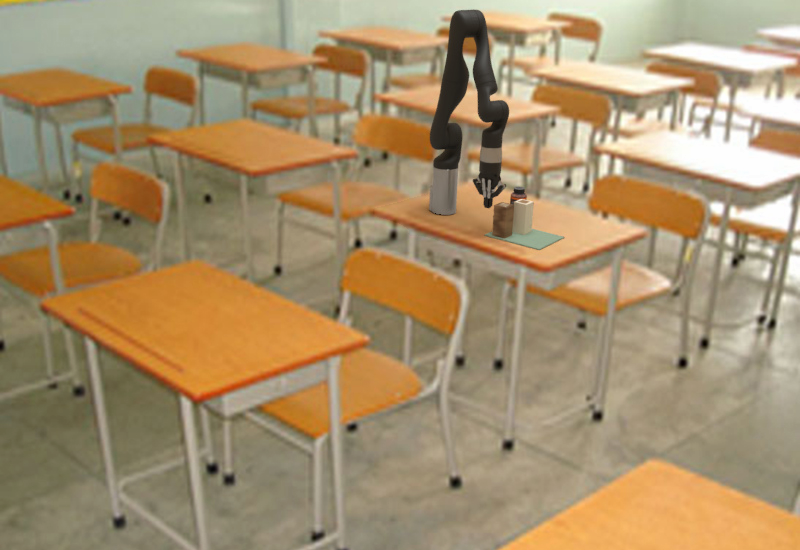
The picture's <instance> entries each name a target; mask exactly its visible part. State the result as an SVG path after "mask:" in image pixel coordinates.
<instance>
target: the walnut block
mask: <svg viewBox="0 0 800 550" xmlns="http://www.w3.org/2000/svg"><path fill="white" fill-rule="evenodd" d="M513 217H514V205H513V204H510V203H508V202H504V201H501V202H499V203H496V204H494V205H493V216H492V219H493V220H492V230H491V232H492V236H496V237H500V238H504V239H505V238H507V237H509V236H511V235H512V230H513Z"/></svg>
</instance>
